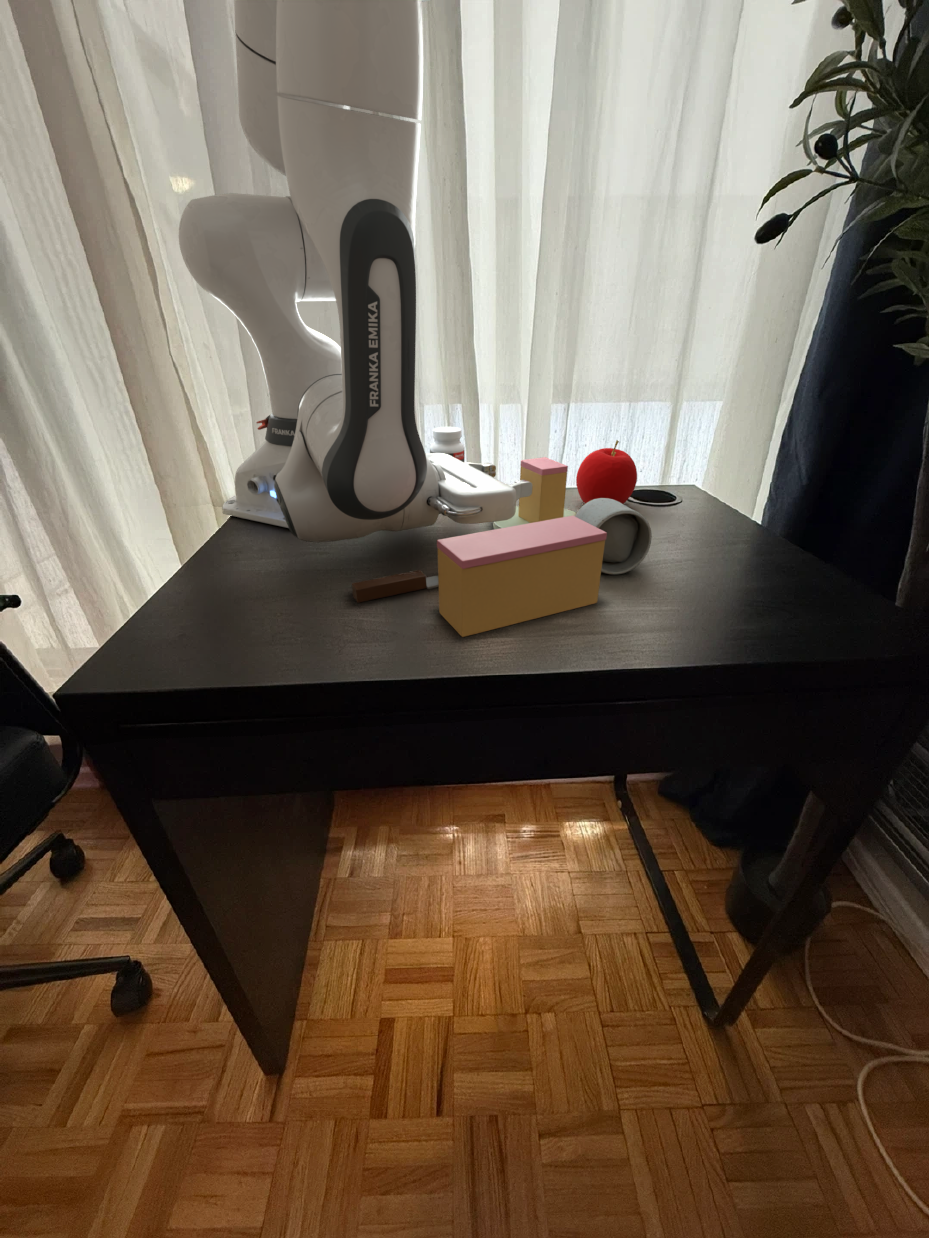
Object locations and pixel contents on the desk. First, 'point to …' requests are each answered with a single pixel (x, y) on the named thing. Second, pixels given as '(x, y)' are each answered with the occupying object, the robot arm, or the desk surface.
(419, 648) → the desk surface
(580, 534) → the loaf cake
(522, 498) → the cake slice
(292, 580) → the desk surface
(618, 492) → the fruit
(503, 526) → the plate
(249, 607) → the desk surface
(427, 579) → the brown stick with tip
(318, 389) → the robot arm
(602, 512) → the ceramic mug
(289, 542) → the desk surface
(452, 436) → the pill bottle
